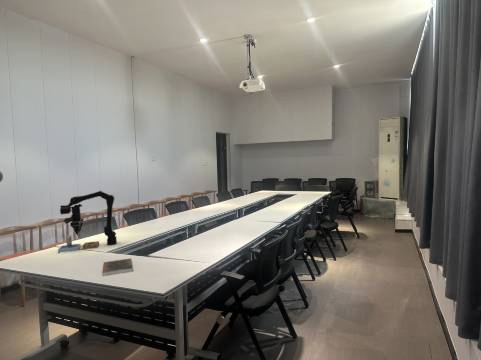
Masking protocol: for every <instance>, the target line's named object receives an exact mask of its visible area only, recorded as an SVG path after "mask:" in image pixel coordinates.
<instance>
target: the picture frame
mask: <svg viewBox="0 0 481 360" xmlns="http://www.w3.org/2000/svg"><path fill="white" fill-rule="evenodd" d="M132 261H133V260H132V258H125V259H124V258H123V259H118V260H117V259H116V260H111V261H105V262H103V264H102V265H103V266H102V273H101V274H102V275H101V276H102V277H104V276H111V275H116V274H122V273H129V272H130V273H131V272H133V271H134V270H133V262H132Z"/></svg>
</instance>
